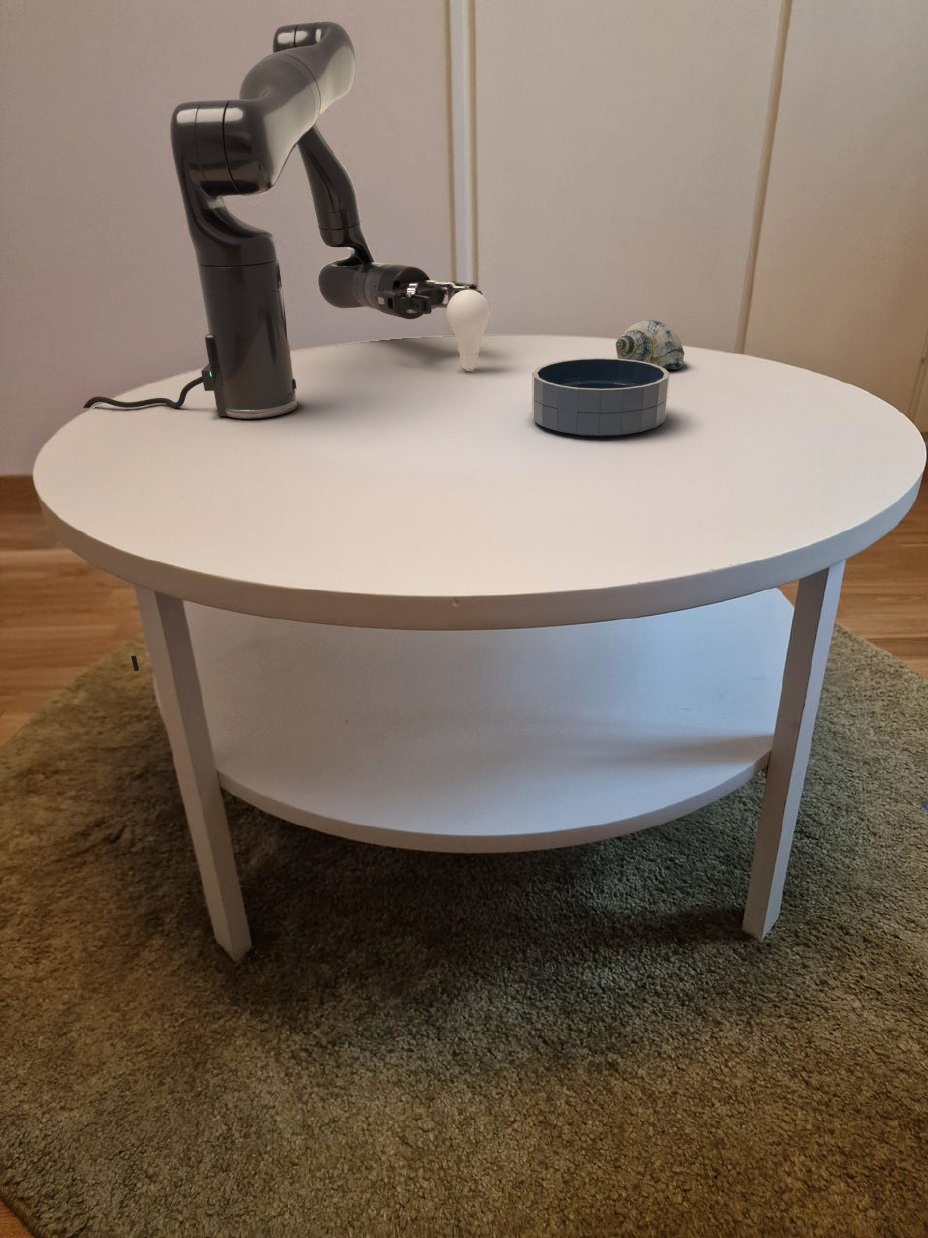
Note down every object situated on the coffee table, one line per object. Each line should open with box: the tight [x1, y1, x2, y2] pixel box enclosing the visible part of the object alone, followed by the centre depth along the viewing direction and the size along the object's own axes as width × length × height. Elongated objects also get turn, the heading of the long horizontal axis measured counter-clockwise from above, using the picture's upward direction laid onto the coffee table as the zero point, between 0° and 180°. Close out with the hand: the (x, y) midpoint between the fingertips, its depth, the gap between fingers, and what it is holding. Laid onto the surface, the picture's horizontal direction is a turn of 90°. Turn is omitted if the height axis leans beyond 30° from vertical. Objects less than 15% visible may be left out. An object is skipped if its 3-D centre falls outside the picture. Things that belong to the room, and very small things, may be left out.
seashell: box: [615, 319, 686, 371], centre depth 119 cm, size 6×8×12 cm
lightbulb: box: [445, 290, 491, 372], centre depth 119 cm, size 6×6×11 cm
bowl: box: [531, 357, 671, 438], centre depth 97 cm, size 15×15×6 cm
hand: (455, 302), depth 120 cm, fingers open, 8 cm apart
